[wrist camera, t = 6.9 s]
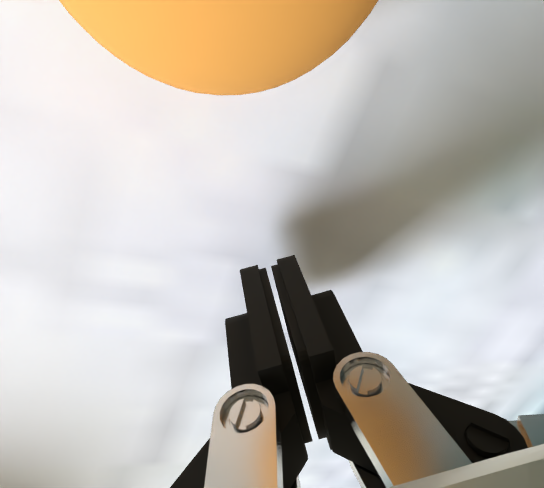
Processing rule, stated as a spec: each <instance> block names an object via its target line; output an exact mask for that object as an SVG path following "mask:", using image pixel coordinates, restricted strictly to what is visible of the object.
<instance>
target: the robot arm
mask: <svg viewBox="0 0 544 488" xmlns="http://www.w3.org/2000/svg"><path fill="white" fill-rule="evenodd" d="M277 263H278V265H274V266H271V268H272V272H273V276H274V280H275V283H276V287H277V291H278V295H279V299H280V303H281V307H282V311H283V315H284V319H285V323H286V326H287V330H288V334H289V338H290V342H291V345H292V348H293V352H294V355H295V359H296V362H297V366H298V369H299V373H300V376H301V379H302V383H303V386H304V390H305V393H306V397H307V400H308V403H309V407H310V410H311V414H312V417H313V421H314V424H315V428H316V431H317V434H318V438H319V439H322V438H325V437H327V440H328V443H329V446H330V450H333V452H334V453H336V454H338V455H340V456H342V457H344V458H346V459H348V460H349V463H350V466H351V468H352V470H353V472H354V474H355V476H356V478H357V480H358V482H359V484H360V486H361V488H544V414H537V415H520V416H518V420H516V421H507V420H506V419H504V418H501V417H499V416H497V415H495V414H493V413H490V412H487V411H485V410H482V409H479V408H476V407H474V406H471V405H468V404H465V403H462V402H460V401H457V400H454V399H451V398H449V397H446V396H443V395H440V394H437V393H435V392H432V391H429V390H426V389H424V388H421V387H418V386H415V385H413V384H410V383H407V381H406V380H405V379H404V378H403V376H402V375H401V374H400V373H399V371H398V370H397V369H396V368H395V366H394V365H393V364H392V363H391V362H390V361H389V360H388V359H387V358H385V357H383V356H381V355H379V354H376V353H371V352H362V350H361V348H360V346H359V344H358V342H357V340H356V338H355V336H354V334H353V331H352V329H351V327H350V325H349V323H348V321H347V319H346V317H345V315H344V313H343V311H342V309H341V307H340V305H339V303H338V301H337V299H336V297H335V295H334V293H333V292H332V291H331V290H329V291H326V292H322V293H318V294H315V295H311V294H310V292H309V289H308V287H307V284H306V282H305V280H304V277H303V275H302V272H301V270H300V267H299V265H298V263H297V260H296V258H295V255H292V256H289V257H285V258H281V259H278V260H277ZM240 274H241V280H242V285H243V291H244V297H245V303H246V308H247V313H245V314H242V315H238V316H234V317H231V318H227V319H226V320H225V325H226V336H227V346H228V356H229V367H230V377H231V387H232V389H231V390H229V391H228V392H227V393H226V394H225V395H223V396H222V397H221V398H220V400H219V401H218V403H217V405H216V406H215V410H214V413H213V419H212V428H211V436H210V439H209V440H208V441H207V442H206V444H205V445H204V446H203V447H202V448H201V450H200V451H199V452H198V453H197V455H196V456H195V457H194V458H193V460H192V461H191V462H190V463H189V465H188V466H187V467H186V468H185V470H184V471H183V472H182V473H181V475H180V476H179V477H178V478H177V480H176V481H175V482H174V483H173V485H172V486H171V487H170V488H300V481H299V476H298V475H299V473H300V472H301V470H302V468H303V467H304V465H305V463H306V462H307V460H308V455H307V451H306V447H305V443H308V442H311V441H312V437H311V434H310V430H309V426H308V422H307V418H306V415H305V411H304V407H303V403H302V399H301V396H300V392H299V388H298V384H297V380H296V377H295V373H294V369H293V365H292V362H291V358H290V354H289V351H288V347H287V343H286V340H285V336H284V333H283V329H282V325H281V322H280V318H279V315H278V311H277V307H276V304H275V300H274V296H273V293H272V289H271V286H270V282H269V278H268V275H267V271H266V268H263V269H258V265H255V266H252V267H248V268H244V269H241V270H240Z"/></svg>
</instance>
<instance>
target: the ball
mask: <svg viewBox="0 0 544 488" xmlns="http://www.w3.org/2000/svg"><path fill="white" fill-rule="evenodd" d="M59 1H60V2H61V3H62V5H63V6H64V7H65V9H66V10H67V11H68V12H69V14H70V15H71V16H72V17H73V18H74V19H75V20H76V21H77V22H78V23H79V24H80V25H81V26H82V27H83V28H84V29H85V30H86V31H87V32H88V33H89V34H90V35H91V36H92V37H93V38H94V39H95V40H96V41H97V42H98V43H99V44H100V45H101V46H103V47H104V48H105V49H107V50H108V51H109V52H110V53H112V54H113V55H114V56H116V57H117V58H118V59H120V60H121V61H123V62H124V63H126V64H127V65H129V66H130V67H132V68H134V69H135V70H137V71H139V72H141V73H143V74H144V75H146V76H148V77H151V78H153V79H155V80H158V81H160V82H163V83H165V84H168V85H170V86H173V87H175V88H179V89H183V90H187V91H191V92H195V93H204V94H213V95H242V94H249V93H256V92H260V91H264V90H268V89H271V88H275V87H278V86H280V85H283V84H285V83H288V82H290V81H293V80H295V79H296V78H298V77H300V76H302V75H304V74H305V73H307V72H309V71H311V70H312V69H314V68H315V67H316V66H318V65H319V64H321V63H322V62H323V61H325V60H326V59H327V58H329V57H330V56H331V55H333V54H334V53H335V52H336V51H337V50H338V49H339V48H340V47H341V46H342V45H344V44H345V43H346V42H347V41H348V40H349V39H350V37H351V36H352V35H353V34H354V33H355V31H356V30H357V29H358V28H359V27H360V25H361V24H362V23H363V22H364V20H365V19H366V18H367V16H368V15H369V14H370V13H371V11H372V9H373V8H374V6H375V5H376V3H377V1H378V0H59Z"/></svg>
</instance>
